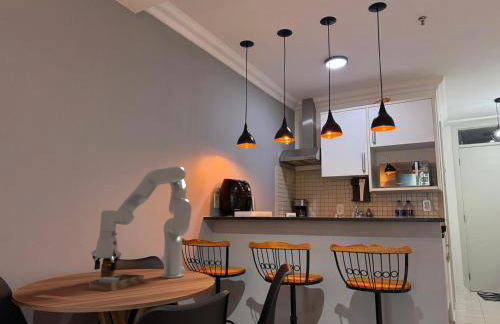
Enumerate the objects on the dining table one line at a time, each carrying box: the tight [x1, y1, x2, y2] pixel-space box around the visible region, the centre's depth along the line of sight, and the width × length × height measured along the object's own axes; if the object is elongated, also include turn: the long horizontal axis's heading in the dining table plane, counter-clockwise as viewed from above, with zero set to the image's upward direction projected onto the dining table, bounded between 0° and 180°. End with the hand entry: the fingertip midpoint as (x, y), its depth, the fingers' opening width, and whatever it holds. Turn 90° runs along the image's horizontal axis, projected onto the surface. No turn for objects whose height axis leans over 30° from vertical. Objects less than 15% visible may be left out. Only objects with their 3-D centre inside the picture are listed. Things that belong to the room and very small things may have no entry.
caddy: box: [88, 273, 145, 291], centre depth 168 cm, size 22×13×4 cm, turn 161°
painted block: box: [98, 277, 119, 283], centre depth 163 cm, size 4×8×4 cm, turn 71°
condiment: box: [100, 258, 115, 278], centre depth 178 cm, size 7×8×12 cm
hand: (104, 270), depth 178 cm, fingers open, 9 cm apart
